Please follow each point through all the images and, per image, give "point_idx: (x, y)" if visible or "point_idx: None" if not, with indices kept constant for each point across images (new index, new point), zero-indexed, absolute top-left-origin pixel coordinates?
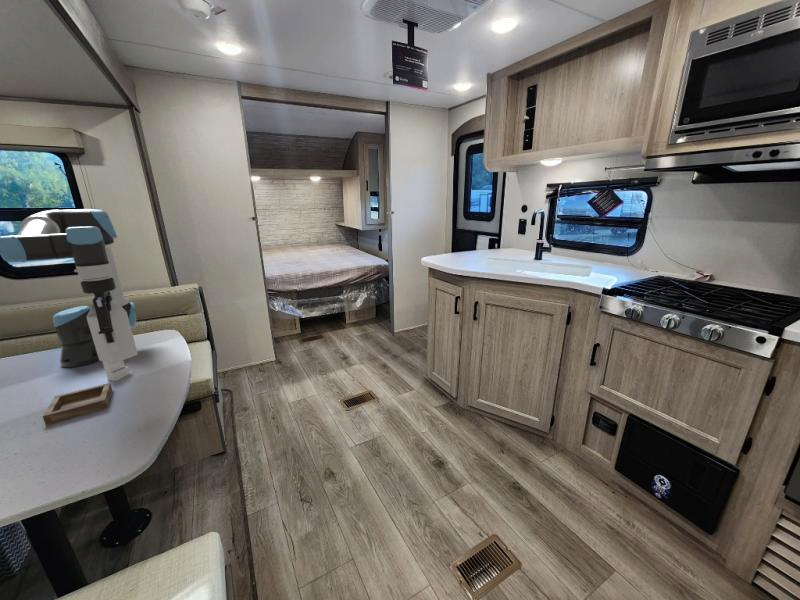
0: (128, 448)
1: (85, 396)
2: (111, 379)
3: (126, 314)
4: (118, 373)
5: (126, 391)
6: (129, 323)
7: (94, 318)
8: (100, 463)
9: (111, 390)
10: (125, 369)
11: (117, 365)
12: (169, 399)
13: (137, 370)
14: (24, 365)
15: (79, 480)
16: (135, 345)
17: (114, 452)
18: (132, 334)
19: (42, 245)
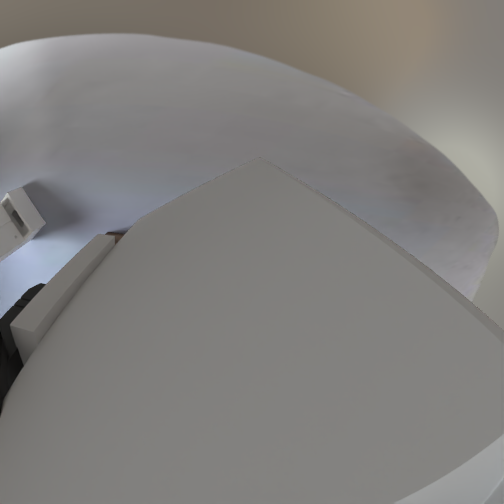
0: (453, 227)
1: None
2: (36, 233)
3: (498, 345)
4: (28, 218)
5: (144, 198)
6: (350, 213)
7: None
8: (453, 264)
9: (117, 235)
10: (15, 200)
11: (2, 222)
12: (320, 106)
13: (11, 169)
14: None
15: (462, 286)
16: (268, 162)
17: (445, 246)
18: (291, 176)
19: None
